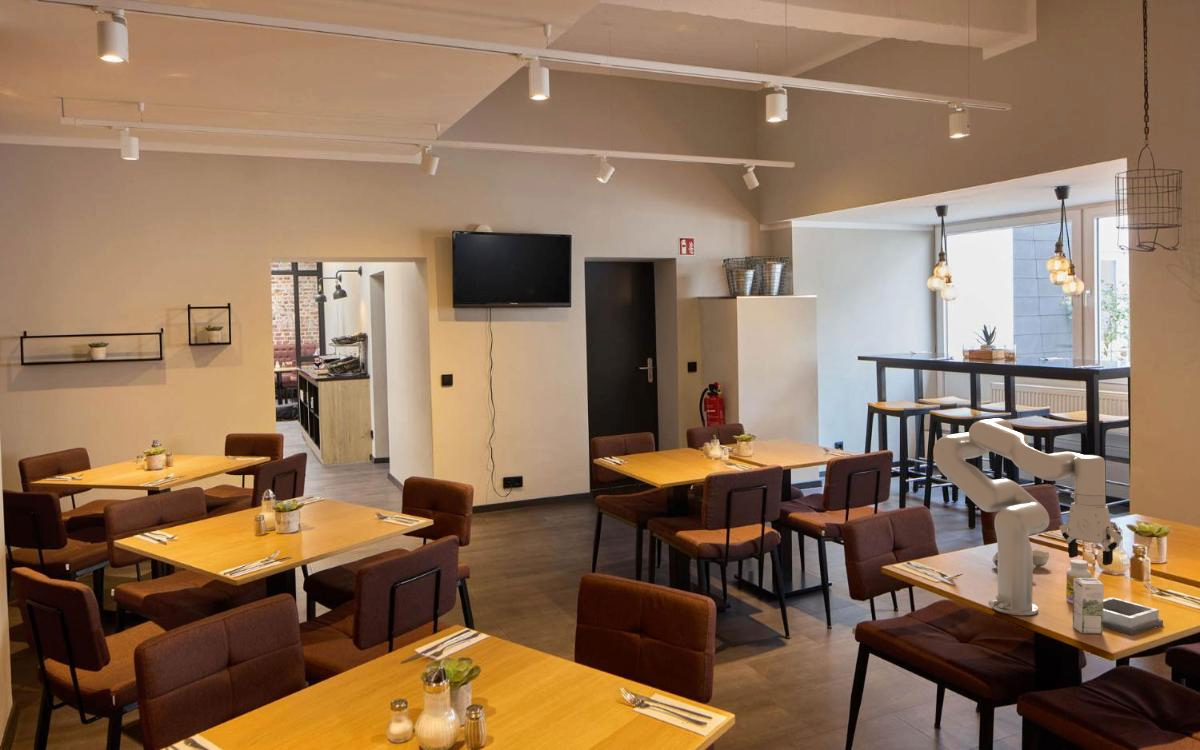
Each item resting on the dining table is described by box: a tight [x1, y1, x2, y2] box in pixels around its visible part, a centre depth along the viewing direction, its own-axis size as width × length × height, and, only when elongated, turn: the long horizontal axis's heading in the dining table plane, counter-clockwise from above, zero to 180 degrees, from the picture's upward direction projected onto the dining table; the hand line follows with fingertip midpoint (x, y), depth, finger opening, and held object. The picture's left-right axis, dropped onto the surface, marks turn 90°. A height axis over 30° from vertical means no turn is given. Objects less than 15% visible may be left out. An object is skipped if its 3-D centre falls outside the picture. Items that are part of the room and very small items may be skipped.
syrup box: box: [1072, 577, 1105, 635], centre depth 239 cm, size 6×6×14 cm
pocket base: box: [1103, 596, 1164, 636], centre depth 246 cm, size 15×15×4 cm
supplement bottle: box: [1065, 558, 1092, 605], centre depth 264 cm, size 7×7×13 cm
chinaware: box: [992, 549, 1051, 571], centre depth 297 cm, size 28×17×17 cm, turn 143°
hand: (1090, 560), depth 238 cm, fingers open, 9 cm apart
